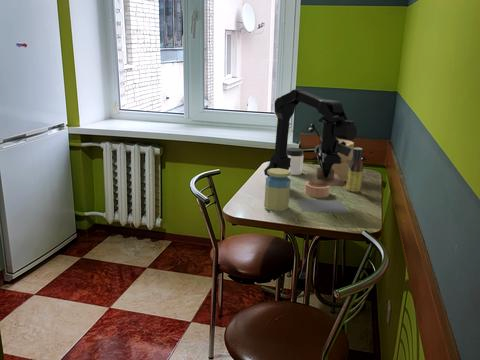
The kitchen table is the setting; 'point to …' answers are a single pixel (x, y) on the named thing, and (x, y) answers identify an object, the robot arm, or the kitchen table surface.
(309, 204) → the charcoal mat
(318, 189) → the terracotta bowl
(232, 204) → the kitchen table surface
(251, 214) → the kitchen table surface
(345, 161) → the container
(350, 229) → the kitchen table surface
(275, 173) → the jar
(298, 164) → the jar
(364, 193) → the kitchen table surface
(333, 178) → the walnut cover
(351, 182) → the sauce bottle
